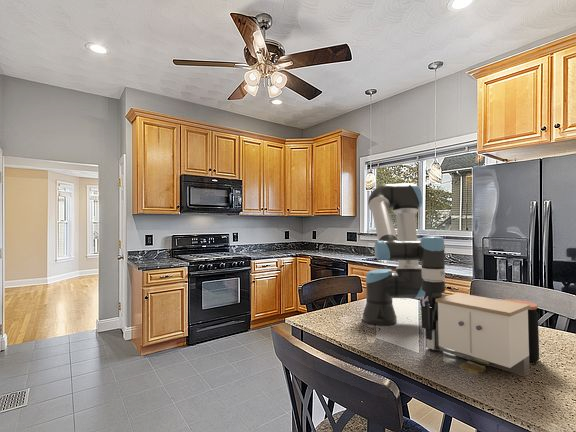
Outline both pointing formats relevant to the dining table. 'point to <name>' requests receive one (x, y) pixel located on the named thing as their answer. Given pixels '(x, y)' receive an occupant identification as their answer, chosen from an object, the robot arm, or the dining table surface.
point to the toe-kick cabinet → (486, 330)
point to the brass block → (473, 367)
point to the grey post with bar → (437, 347)
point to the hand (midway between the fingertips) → (434, 346)
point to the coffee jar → (531, 330)
